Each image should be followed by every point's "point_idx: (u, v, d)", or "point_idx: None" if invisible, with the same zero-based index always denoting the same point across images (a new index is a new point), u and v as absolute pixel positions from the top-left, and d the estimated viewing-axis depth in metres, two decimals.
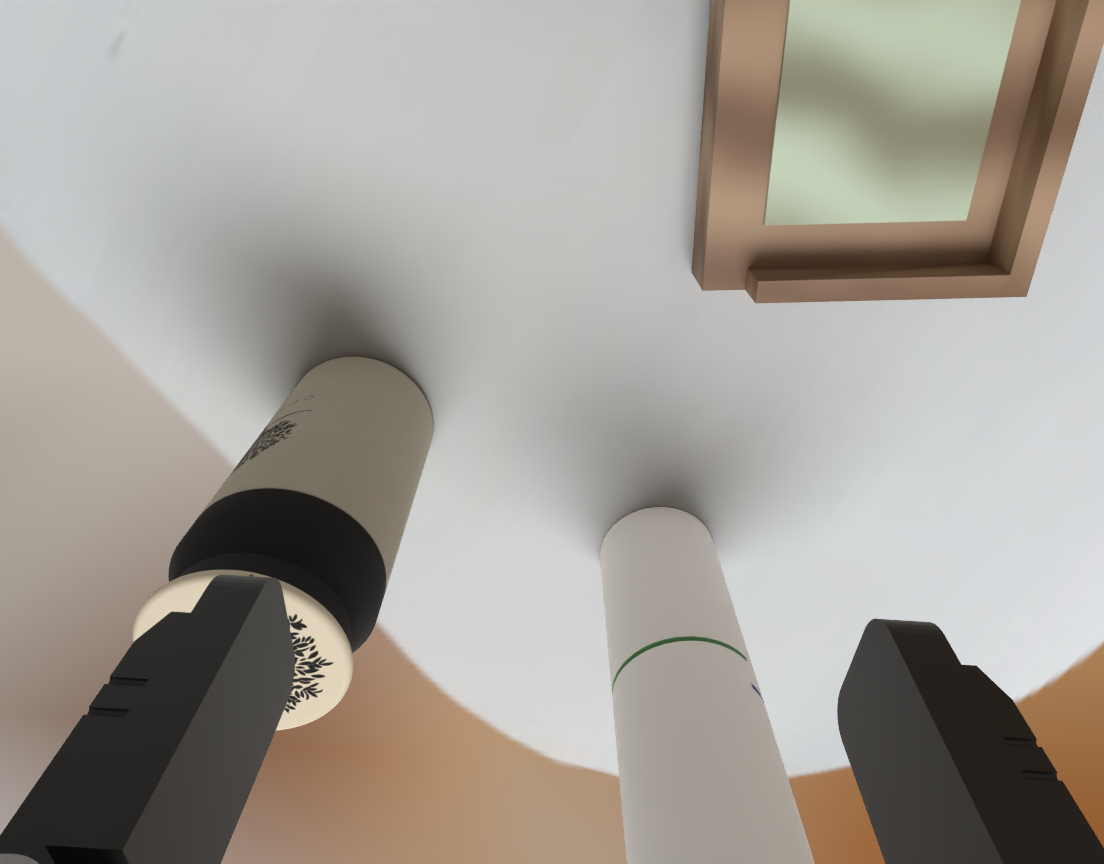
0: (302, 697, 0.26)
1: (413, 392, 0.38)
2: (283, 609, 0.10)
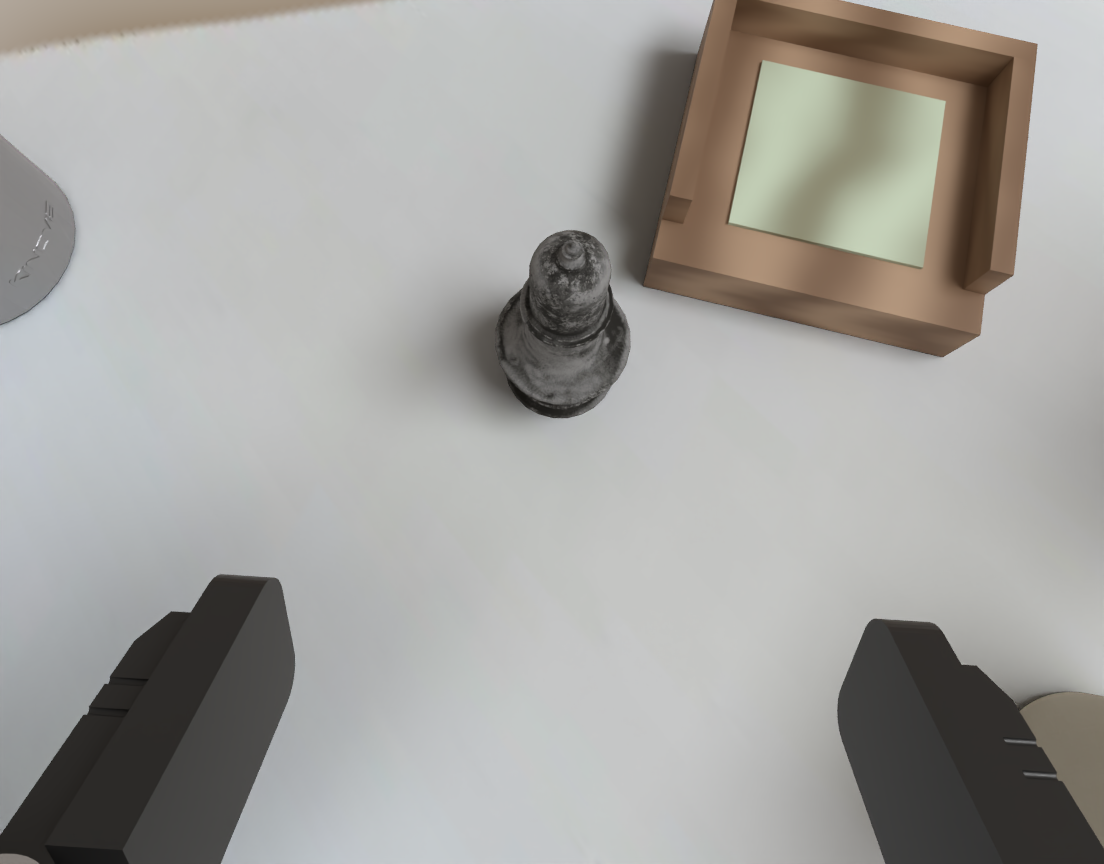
0: None
1: (1055, 700, 0.30)
2: (283, 609, 0.10)
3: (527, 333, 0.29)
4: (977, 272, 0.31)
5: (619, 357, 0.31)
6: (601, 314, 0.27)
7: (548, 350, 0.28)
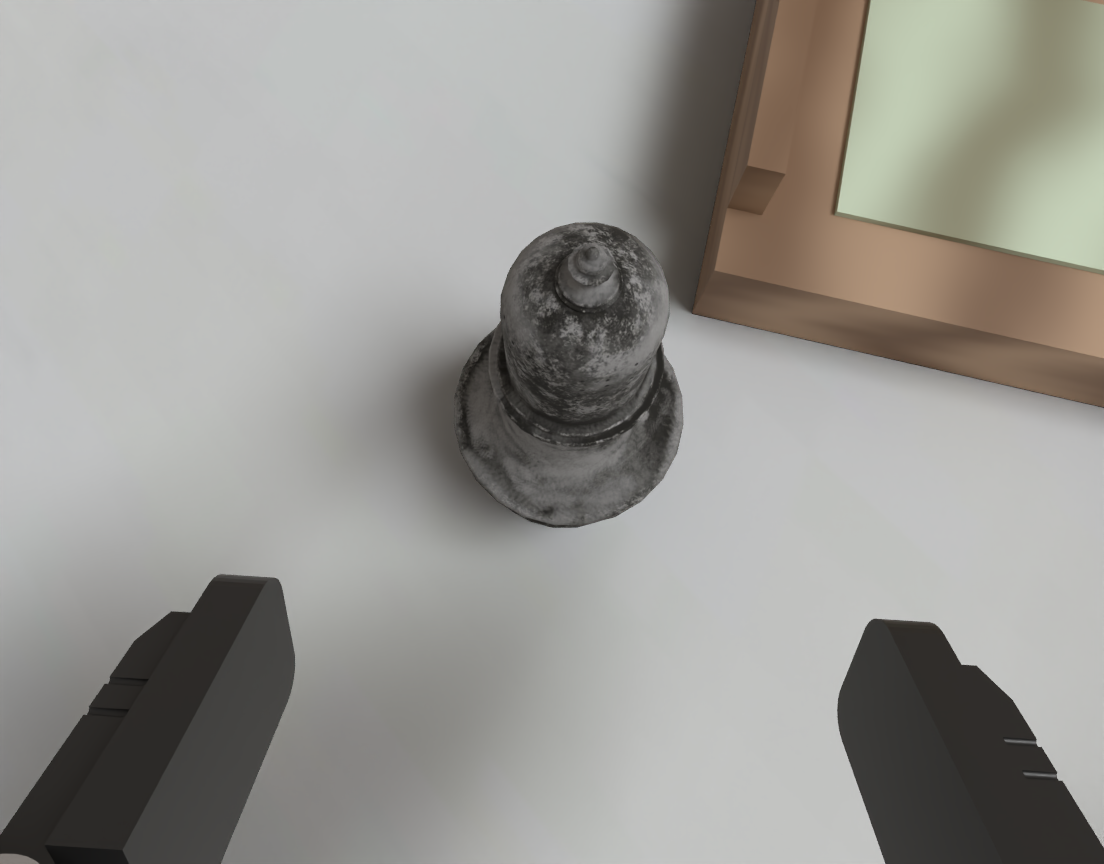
0: None
1: None
2: (283, 609, 0.10)
3: None
4: None
5: (666, 441, 0.18)
6: (642, 383, 0.14)
7: (543, 442, 0.16)
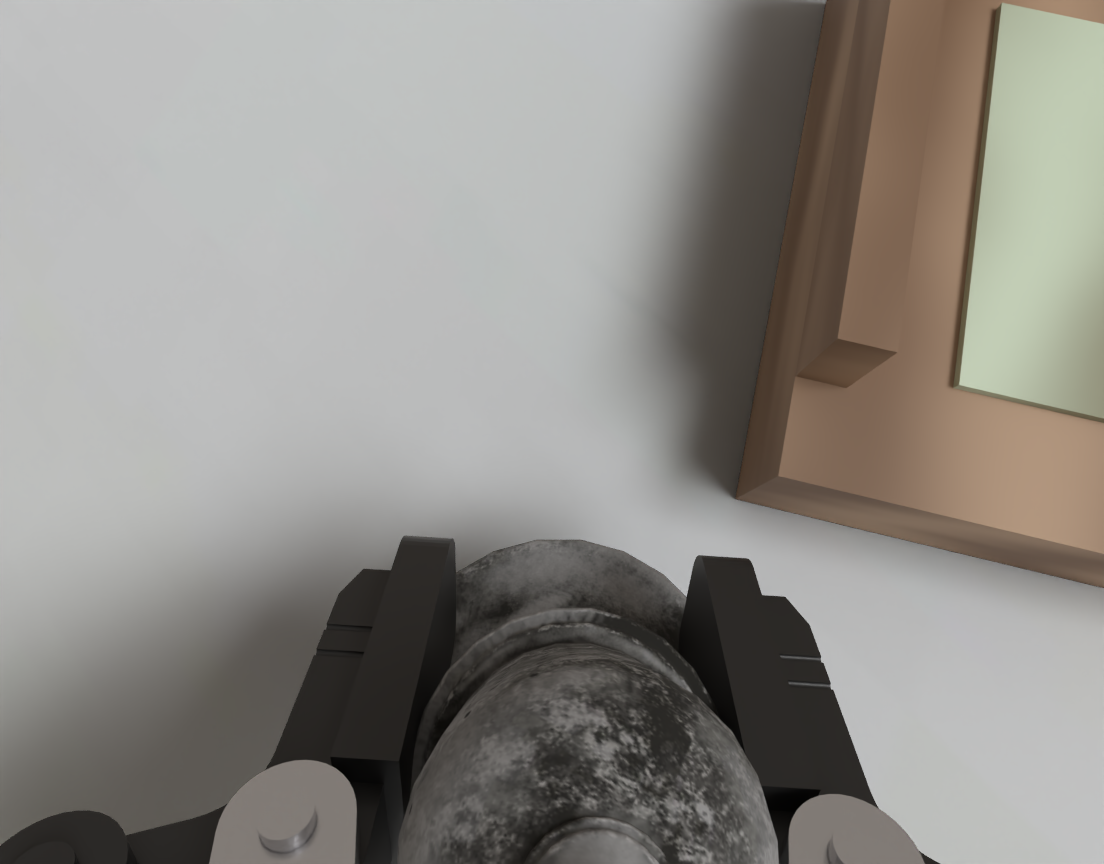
0: None
1: None
2: (454, 569, 0.11)
3: None
4: None
5: None
6: None
7: None
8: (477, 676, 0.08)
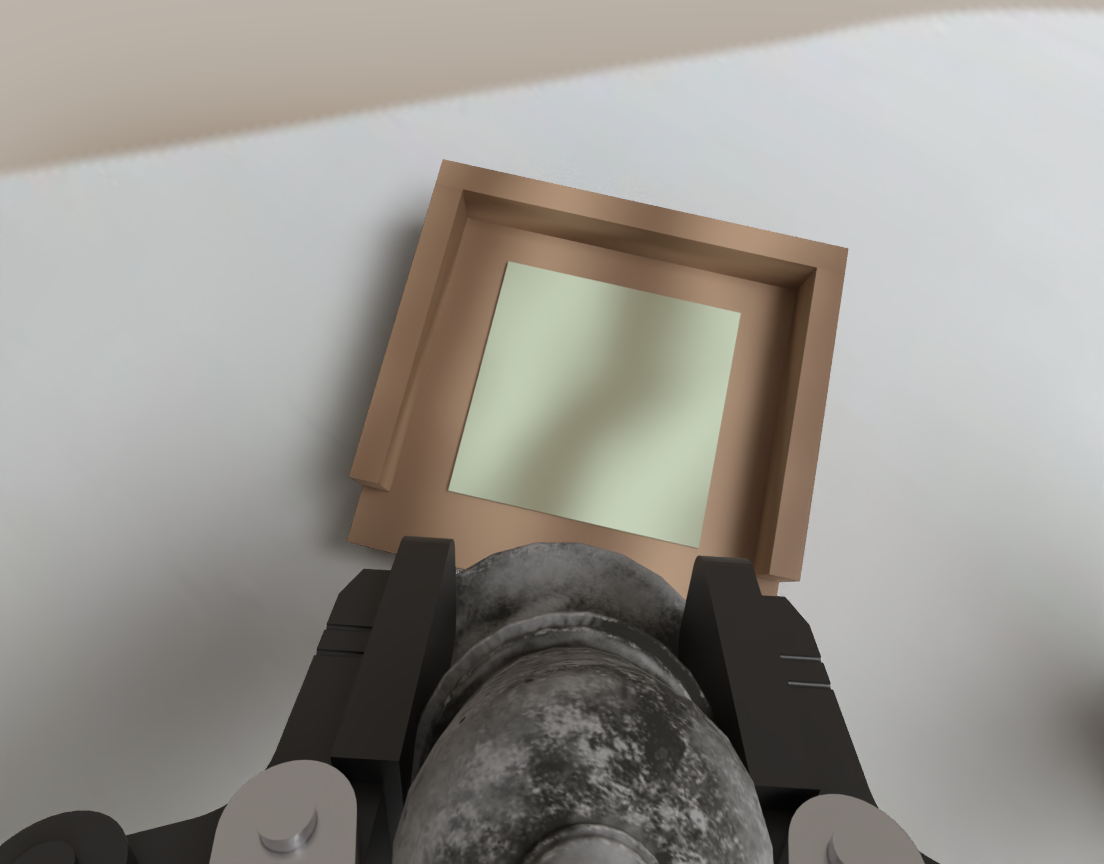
0: None
1: None
2: (454, 569, 0.11)
3: None
4: (761, 564, 0.24)
5: None
6: None
7: None
8: (474, 680, 0.08)
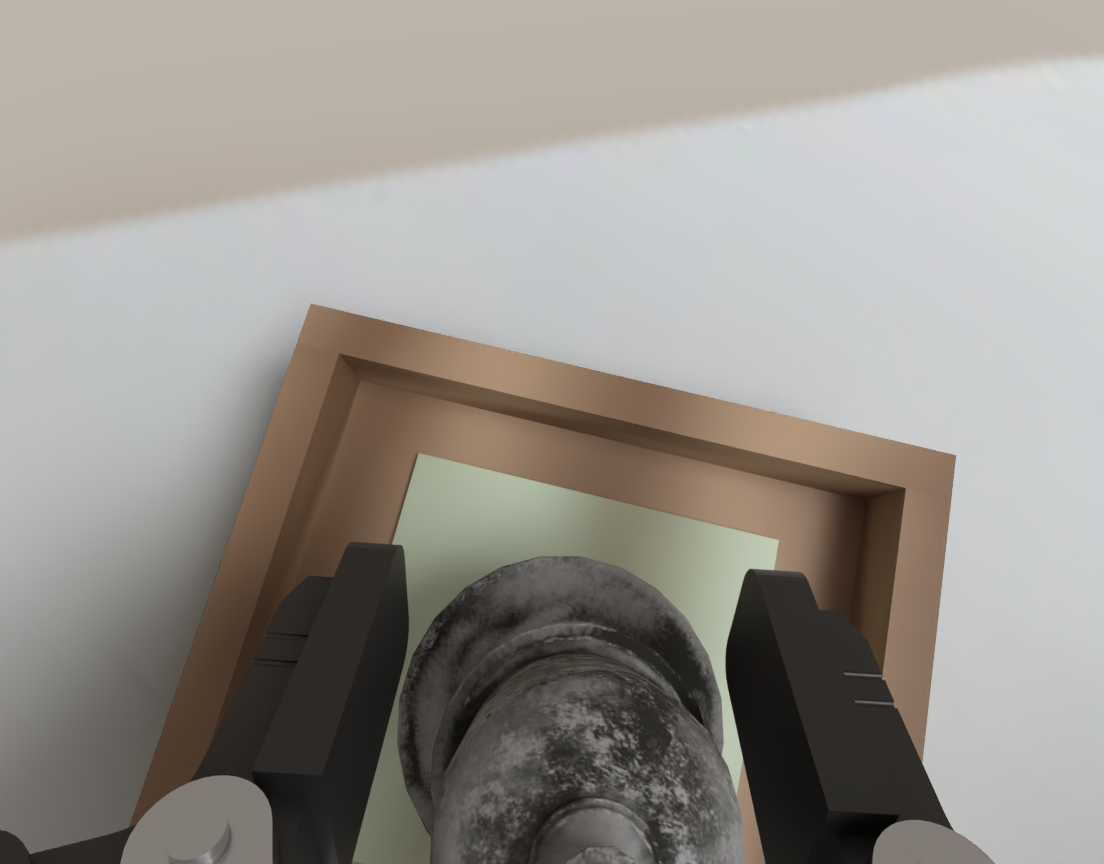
0: None
1: None
2: (404, 575, 0.10)
3: None
4: None
5: None
6: None
7: None
8: (490, 682, 0.09)
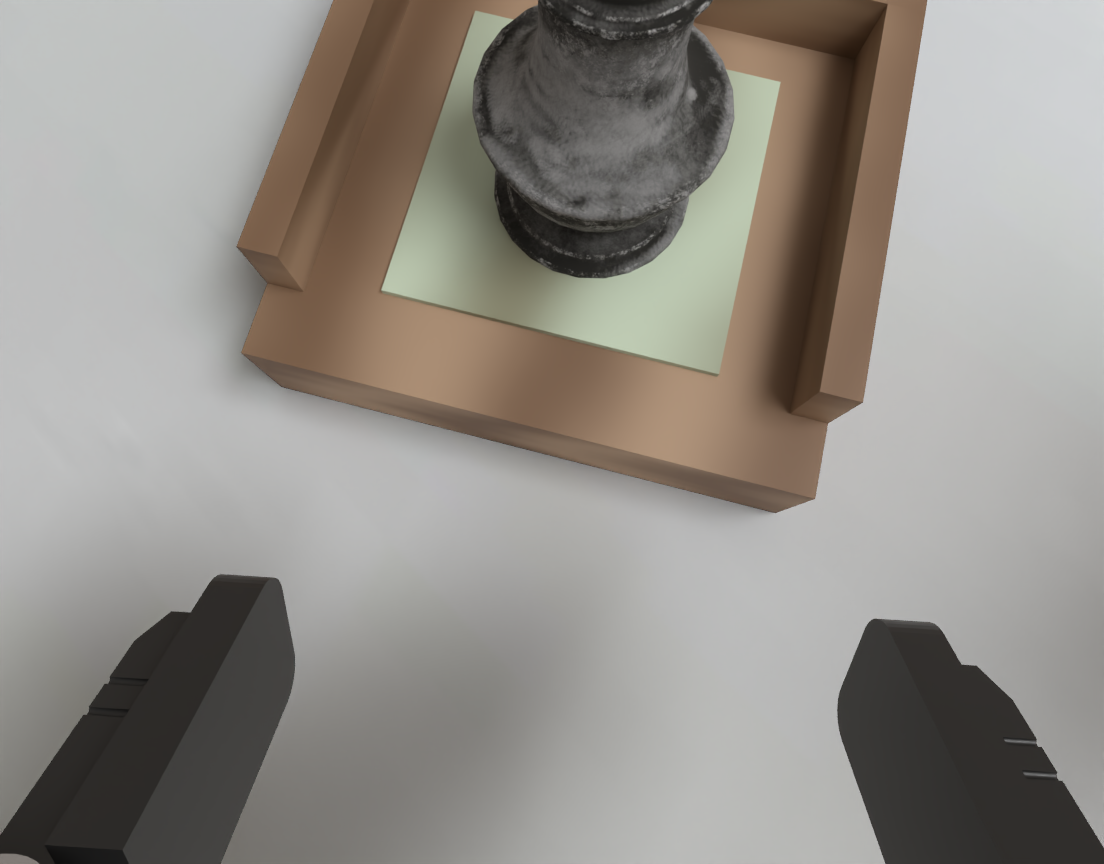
0: None
1: None
2: (283, 609, 0.10)
3: (535, 62, 0.14)
4: (806, 389, 0.17)
5: (715, 133, 0.16)
6: None
7: (579, 82, 0.13)
8: None
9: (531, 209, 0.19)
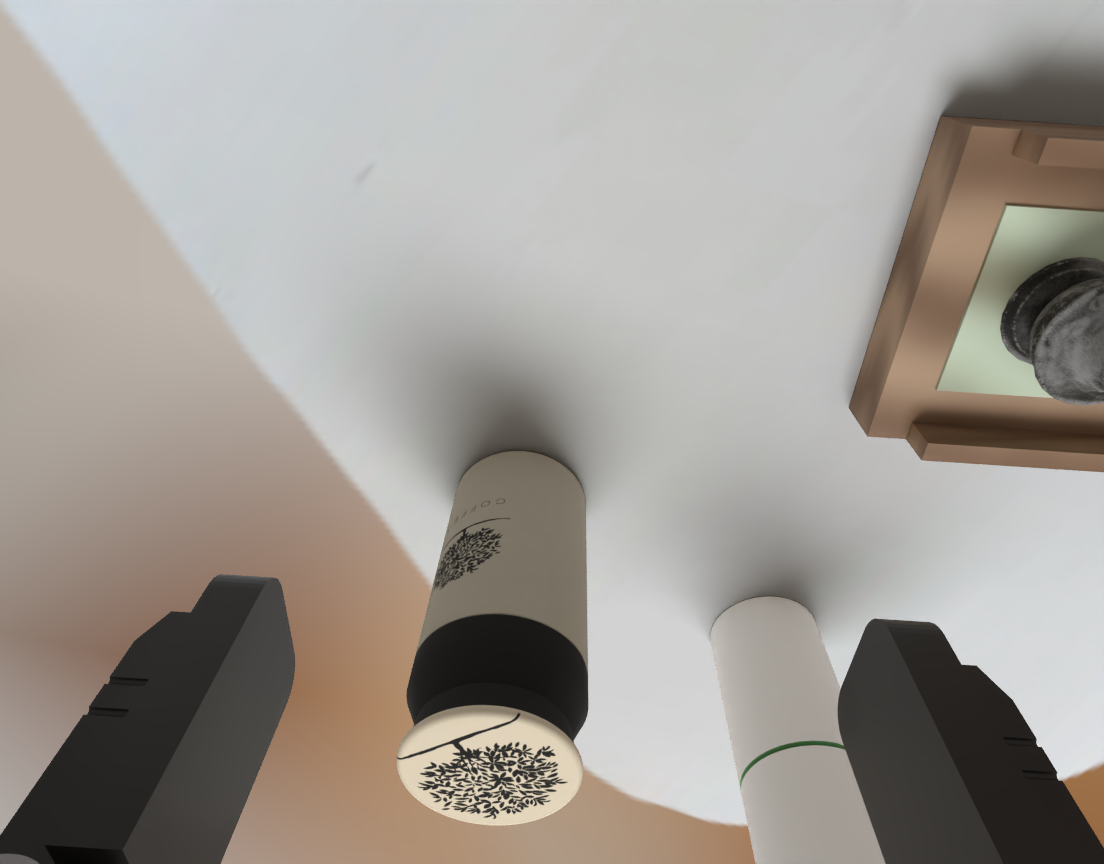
0: (530, 804, 0.29)
1: (577, 488, 0.42)
2: (283, 609, 0.10)
3: None
4: (927, 433, 0.36)
5: (1077, 399, 0.31)
6: None
7: None
8: None
9: (1051, 287, 0.32)
